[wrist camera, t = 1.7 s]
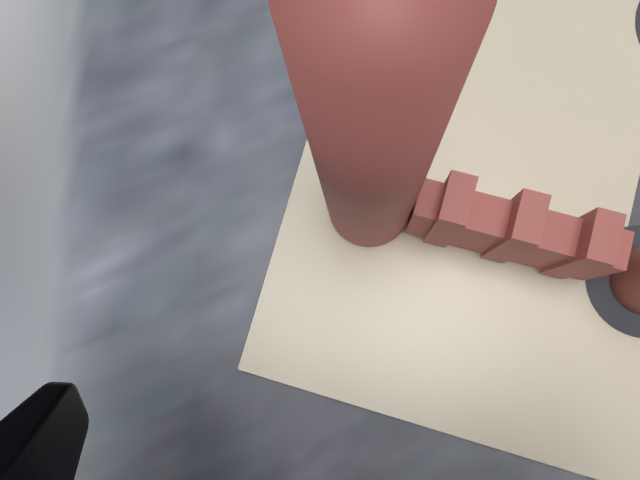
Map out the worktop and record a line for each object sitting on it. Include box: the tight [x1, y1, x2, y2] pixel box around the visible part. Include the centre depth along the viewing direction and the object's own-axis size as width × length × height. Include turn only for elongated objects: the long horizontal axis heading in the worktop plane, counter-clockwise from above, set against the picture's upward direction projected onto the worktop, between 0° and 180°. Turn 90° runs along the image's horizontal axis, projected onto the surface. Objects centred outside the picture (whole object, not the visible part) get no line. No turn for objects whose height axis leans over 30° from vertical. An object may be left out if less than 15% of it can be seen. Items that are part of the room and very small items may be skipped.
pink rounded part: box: [268, 0, 635, 281], centre depth 14 cm, size 9×3×14 cm, turn 74°
